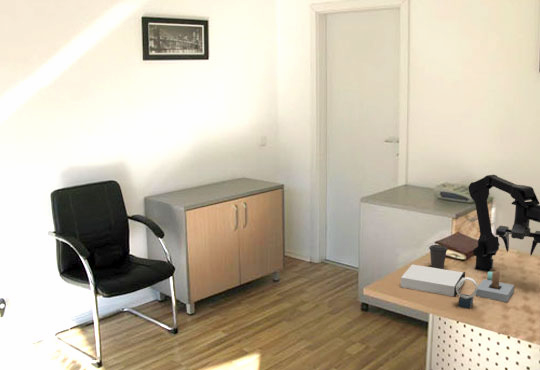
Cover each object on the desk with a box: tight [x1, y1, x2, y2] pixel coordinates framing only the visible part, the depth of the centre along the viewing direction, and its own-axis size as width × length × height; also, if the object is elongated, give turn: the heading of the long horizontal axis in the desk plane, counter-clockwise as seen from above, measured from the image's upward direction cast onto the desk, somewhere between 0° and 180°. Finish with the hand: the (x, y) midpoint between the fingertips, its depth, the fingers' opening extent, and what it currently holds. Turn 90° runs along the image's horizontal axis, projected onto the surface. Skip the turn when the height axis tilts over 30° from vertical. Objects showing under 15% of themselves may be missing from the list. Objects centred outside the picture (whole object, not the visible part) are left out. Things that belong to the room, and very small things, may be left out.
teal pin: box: [486, 270, 494, 281], centre depth 255 cm, size 3×3×5 cm
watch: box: [455, 276, 479, 310], centre depth 234 cm, size 6×8×11 cm
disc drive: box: [400, 264, 466, 298], centre depth 255 cm, size 18×22×5 cm
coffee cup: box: [428, 244, 448, 269], centre depth 274 cm, size 8×8×10 cm
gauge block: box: [475, 278, 515, 303], centre depth 245 cm, size 12×12×3 cm
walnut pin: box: [491, 271, 501, 290], centre depth 244 cm, size 3×3×9 cm
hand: (519, 253), depth 254 cm, fingers open, 9 cm apart
